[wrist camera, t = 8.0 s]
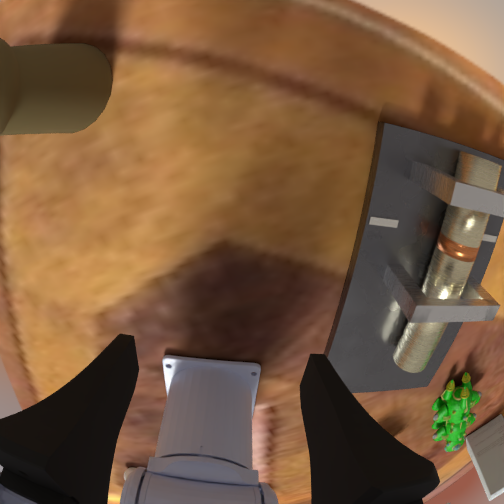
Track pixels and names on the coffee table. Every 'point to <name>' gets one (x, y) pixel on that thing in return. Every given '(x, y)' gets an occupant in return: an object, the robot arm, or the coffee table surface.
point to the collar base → (408, 259)
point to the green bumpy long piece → (454, 413)
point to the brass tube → (449, 263)
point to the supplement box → (489, 455)
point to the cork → (52, 87)
